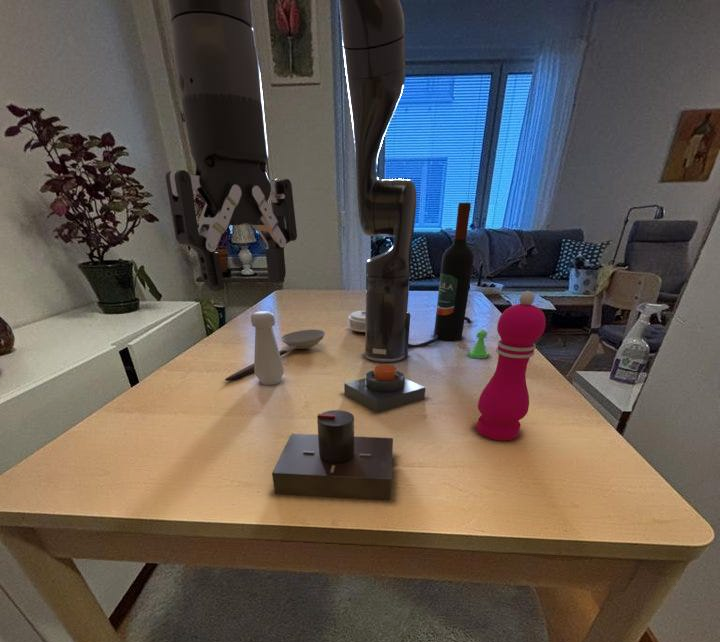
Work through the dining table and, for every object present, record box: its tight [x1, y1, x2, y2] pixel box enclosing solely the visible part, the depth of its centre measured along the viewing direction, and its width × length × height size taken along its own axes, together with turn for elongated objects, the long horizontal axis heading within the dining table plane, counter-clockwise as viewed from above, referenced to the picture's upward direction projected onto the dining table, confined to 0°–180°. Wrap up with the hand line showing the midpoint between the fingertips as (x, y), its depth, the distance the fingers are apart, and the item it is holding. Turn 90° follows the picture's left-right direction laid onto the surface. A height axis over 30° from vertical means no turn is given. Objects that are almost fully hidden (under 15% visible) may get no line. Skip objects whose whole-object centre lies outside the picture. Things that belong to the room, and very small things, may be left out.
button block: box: [343, 370, 426, 414], centre depth 72 cm, size 11×10×4 cm
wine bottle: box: [433, 202, 474, 342], centre depth 99 cm, size 8×8×30 cm
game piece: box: [468, 329, 489, 359], centre depth 92 cm, size 4×4×6 cm
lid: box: [347, 309, 366, 333], centre depth 112 cm, size 13×13×5 cm
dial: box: [316, 409, 355, 463], centre depth 48 cm, size 4×4×5 cm
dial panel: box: [271, 433, 394, 501], centre depth 50 cm, size 14×10×3 cm
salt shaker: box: [250, 310, 285, 386], centre depth 75 cm, size 6×6×13 cm
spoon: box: [224, 329, 326, 381], centre depth 90 cm, size 11×33×3 cm, turn 152°
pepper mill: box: [476, 290, 547, 441], centre depth 56 cm, size 7×7×20 cm
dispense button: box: [373, 364, 397, 380], centre depth 70 cm, size 4×4×2 cm
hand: (248, 286), depth 47 cm, fingers open, 8 cm apart
